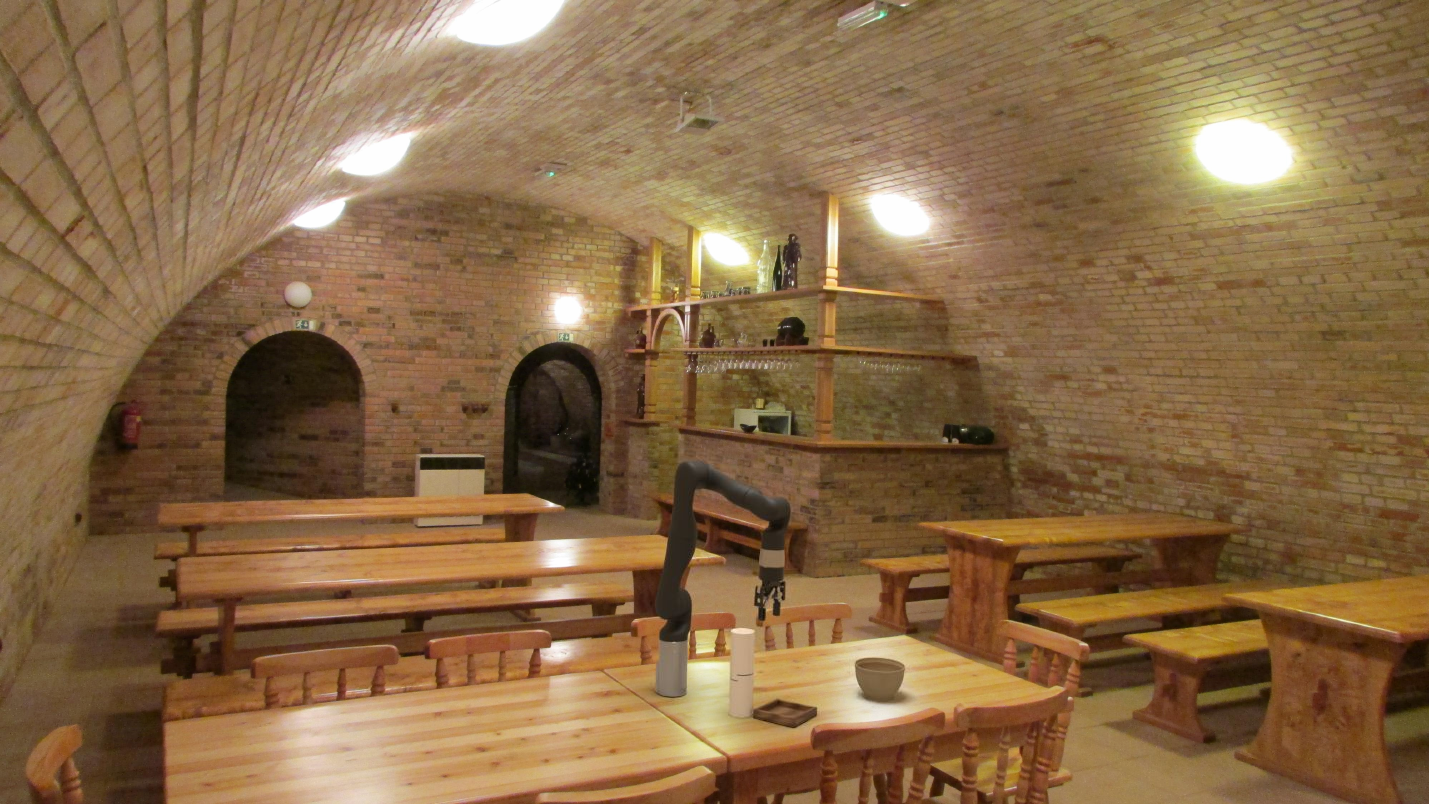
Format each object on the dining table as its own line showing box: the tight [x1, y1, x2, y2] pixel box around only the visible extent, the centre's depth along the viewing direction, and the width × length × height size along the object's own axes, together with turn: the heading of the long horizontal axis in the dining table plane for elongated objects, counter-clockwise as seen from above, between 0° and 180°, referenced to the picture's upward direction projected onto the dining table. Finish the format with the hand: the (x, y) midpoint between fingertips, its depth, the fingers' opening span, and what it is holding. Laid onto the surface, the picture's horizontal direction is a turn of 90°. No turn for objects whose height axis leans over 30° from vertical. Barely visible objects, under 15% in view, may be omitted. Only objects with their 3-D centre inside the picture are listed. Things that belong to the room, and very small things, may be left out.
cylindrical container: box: [728, 627, 756, 719], centre depth 292 cm, size 7×7×25 cm
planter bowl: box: [854, 656, 906, 702], centre depth 312 cm, size 16×16×11 cm
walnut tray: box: [752, 698, 818, 728], centre depth 290 cm, size 14×14×2 cm
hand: (769, 618), depth 289 cm, fingers open, 8 cm apart
